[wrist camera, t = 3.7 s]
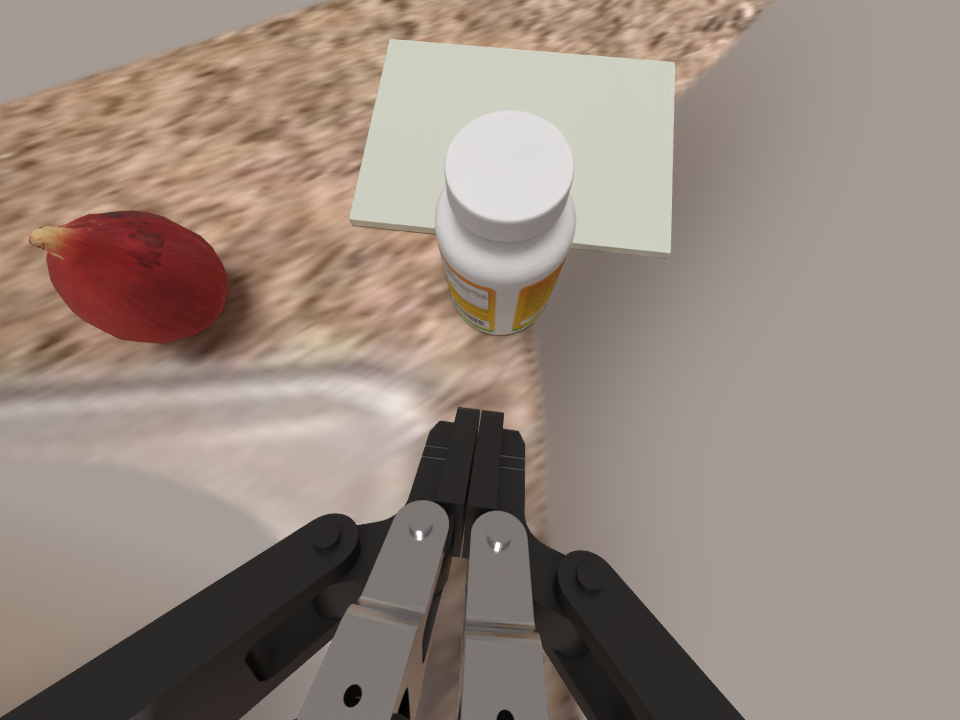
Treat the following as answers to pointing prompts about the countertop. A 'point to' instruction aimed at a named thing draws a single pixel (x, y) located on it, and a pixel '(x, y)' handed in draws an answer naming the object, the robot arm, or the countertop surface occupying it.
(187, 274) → the onion
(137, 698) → the robot arm
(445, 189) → the supplement bottle
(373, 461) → the countertop surface
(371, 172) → the mat
